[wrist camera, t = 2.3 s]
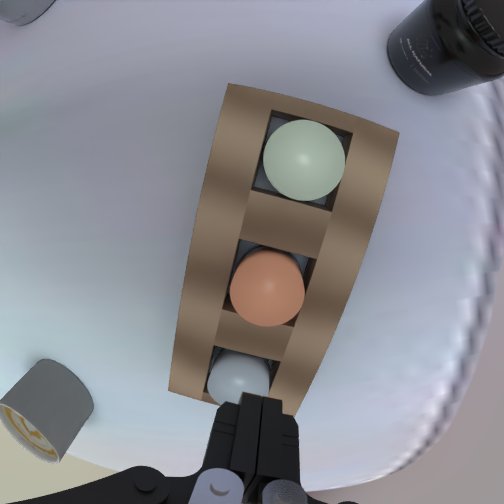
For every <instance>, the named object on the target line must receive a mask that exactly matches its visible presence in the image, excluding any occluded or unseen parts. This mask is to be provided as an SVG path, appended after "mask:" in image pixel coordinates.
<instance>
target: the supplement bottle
mask: <svg viewBox="0 0 504 504" xmlns="http://www.w3.org/2000/svg"><path fill="white" fill-rule="evenodd" d="M388 52H389V57H390V60H391V63H392V65H393V67H394V69H395V70H396V72H397V73H398V75H399V76H400V77H401V78H402V80H403V81H404V82H406V83H407V84H408V85H409V86H410V87H412V88H413V89H415V90H417V91H419V92H421V93H423V94H427V95H442V94H446V93H450V92H453V91H457V90H460V89H463V88H467V87H471V86H474V85H478V84H481V83H485V82H489V81H493V80H496V79H499V78H501V77H503V76H504V0H424V1H423V2H422V3H421V4H420V5H419V6H418V7H417V8H416V9H415V10H414V11H413V12H412V13H411V14H410V15H409V16H408V17H407V18H406V19H405V20H403V21H402V22H401V23H400V24H399V25H398V27H397V28H396V29H395V30H394V31H393V32H392V34H391V36H390V38H389V43H388Z"/></svg>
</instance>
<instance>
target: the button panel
mask: <svg viewBox="0 0 504 504" xmlns="http://www.w3.org/2000/svg"><path fill="white" fill-rule="evenodd" d="M272 116H274V117H278V118H282V119H286V120H289V121H296V120H310V121H315V122H318V123H320V124H322V125H324V126H326V127H327V128H329V129H330V130H331V131H332V132H333V133H335V134H338V135H341V136H344V138H343V142H342V147H343V150H344V155H345V168H344V172H343V175H342V178H341V180H340V182H339V183H338V185H337V186H336V187H335V188H334V189H333V190H332V191H331V192H330V193H329V194H328V198H327V201H326V205H325V206H323V205H320V204H316V203H313V202H309V201H302V200H295V199H292V198H289V197H287V196H285V195H283V194H280V193H276V192H272V191H269V190H265V189H261V188H257V187H254V184H255V180H256V176H257V172H258V169H259V165H260V161H261V157H262V153H263V149H264V145H265V141H266V137H267V133H268V130H269V126H270V122H271V118H272ZM398 137H399V132H397V131H394V130H392V129H389V128H387V127H384V126H382V125H379V124H376V123H374V122H371V121H368V120H366V119H363V118H360V117H357V116H354V115H351V114H348V113H345V112H342V111H339V110H336V109H333V108H330V107H326V106H323V105H320V104H316V103H313V102H309V101H306V100H302V99H298V98H295V97H291V96H287V95H283V94H279V93H274V92H270V91H266V90H261V89H256V88H252V87H247V86H241V85H236V84H231V83H228V86H227V90H226V93H225V97H224V101H223V105H222V108H221V112H220V116H219V120H218V124H217V128H216V132H215V136H214V140H213V144H212V148H211V152H210V156H209V160H208V165H207V169H206V173H205V178H204V182H203V187H202V191H201V196H200V200H199V205H198V210H197V215H196V220H195V224H194V229H193V235H192V240H191V245H190V250H189V256H188V261H187V266H186V272H185V278H184V284H183V289H182V295H181V302H180V308H179V314H178V321H177V327H176V334H175V341H174V348H173V356H172V363H171V371H170V379H169V388H168V391H170V392H174V393H177V394H180V395H183V396H187V397H190V398H193V399H197V400H200V401H204V402H208V403H212V404H215V405H219V406H221V405H220V404H218V403H217V402H216V401H215V400H214V399H213V398H212V397H211V395H210V394H209V391H208V387H207V384H208V380H209V377H210V373H209V371H210V367H211V362H212V358H213V354H214V349H215V346H219V347H223V348H227V349H230V350H234V351H238V352H242V353H246V354H250V355H254V356H259V357H263V358H267V359H272V360H274V363H273V365H272V368H271V371H270V378H269V393H268V397H270V398H275V399H280V400H282V402H283V409H282V413H283V414H288V415H293V417H295V415H296V413H297V411H298V409H299V407H300V405H301V403H302V401H303V399H304V397H305V395H306V393H307V391H308V389H309V387H310V385H311V383H312V381H313V379H314V377H315V375H316V373H317V370H318V368H319V366H320V364H321V362H322V360H323V357H324V355H325V353H326V351H327V349H328V346H329V344H330V342H331V339H332V337H333V335H334V332H335V330H336V328H337V325H338V323H339V321H340V318H341V316H342V313H343V311H344V308H345V306H346V303H347V301H348V298H349V296H350V293H351V290H352V288H353V285H354V282H355V280H356V277H357V274H358V272H359V269H360V266H361V263H362V260H363V258H364V255H365V252H366V249H367V246H368V243H369V240H370V237H371V234H372V231H373V228H374V225H375V221H376V218H377V215H378V212H379V208H380V205H381V202H382V198H383V195H384V191H385V188H386V184H387V181H388V177H389V173H390V170H391V166H392V162H393V158H394V154H395V150H396V146H397V142H398ZM241 239H242V240H246V241H250V242H254V243H258V244H261V245H265V246H269V247H273V248H277V249H281V250H284V251H288V252H292V253H296V254H300V255H303V256H307V257H310V258H309V261H308V264H307V267H306V270H305V273H304V276H303V284H304V289H305V296H304V301H303V304H302V307H301V308H300V310H299V312H298V313H297V314H296V315H295V316H294V317H293V318H292V319H290V320H289V321H287V322H285V323H283V324H281V325H277V326H269V327H266V326H258V325H255V324H252V323H250V322H248V321H246V320H245V319H244V318H242V317H241V316H240V315H239V314H238V313H237V311H236V310H235V308H234V307H233V304H232V302H231V298H230V293H228V290H229V286H230V282H231V278H232V273H233V269H234V265H235V261H236V257H237V253H238V249H239V245H240V241H241Z"/></svg>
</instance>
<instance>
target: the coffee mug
mask: <svg viewBox="0 0 504 504" xmlns="http://www.w3.org/2000/svg"><path fill="white" fill-rule="evenodd" d="M92 411H93V400H92V397H91V395H90V393H89V392H88V390H87V388H86V387H85V386H84V384H83V383H82V382H81V381H80V380H79V379H78V378H77V377H76V376H75V374H74V373H72V372H71V371H70V370H69V369H67V368H66V367H65V366H63V365H61V364H60V363H58V362H56V361H53V360H50V359H42V360H40V361H38V362H37V363H36V364H35V365H34V366H33V367H32V368H31V369H30V370H29V371H28V372H27V373H26V374H25V375H24V376H23V377H22V378H21V379H20V380H19V381H18V382H17V383H16V384H15V385H14V386H13V387H12V388H11V389H10V391H9V392H8V393H7V394H6V395H5V396H4V397H3V398H2V399H1V400H0V421H1V422H2V424H3V425H4V427H5V428H6V429H7V431H8V432H9V433H10V434H11V435H12V437H13V438H14V439H15V440H16V441H17V442H18V443H19V444H20V445H22V446H23V447H24V448H25V449H26V450H28V451H29V452H30V453H32V454H33V455H35V456H36V457H38V458H40V459H41V460H43V461H46V462H48V463H52V464H57V463H59V462H60V460H61V459H62V457H63V456H64V454H65V453H66V451H67V449H68V448H69V446H70V445H71V443H72V442H73V440H74V439H75V437H76V436H77V434H78V433H79V431H80V429H81V428H82V426H83V425H84V423H85V422H86V420H87V419H88V417H89V416H90V414H91V413H92Z"/></svg>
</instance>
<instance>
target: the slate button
mask: <svg viewBox="0 0 504 504" xmlns="http://www.w3.org/2000/svg"><path fill="white" fill-rule="evenodd" d="M269 378H270V365H269V362H268V360H267V358H263V357H259V356H254V355H250V354H246V353H242V352H238V351H234V350H230V349H227V348H225V349H223V350H222V351H221V352H219V353H218V355H217V356H216V358H215V361H214V364H213V367H212V370H211V373H210V377H209V380H208V384H207V387H208V391H209V394H210V395H211V397H212V398H213V399H214V400H215V401H216V402H217V403H218V404H220V405H222V404H223V403H224V402H225V401H227V402H231V403H235V404H238V402H239V399H240V396H241V393H242V391H243V392H248V393H252V394H256V395H261V396H266V397H268V393H269Z"/></svg>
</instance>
